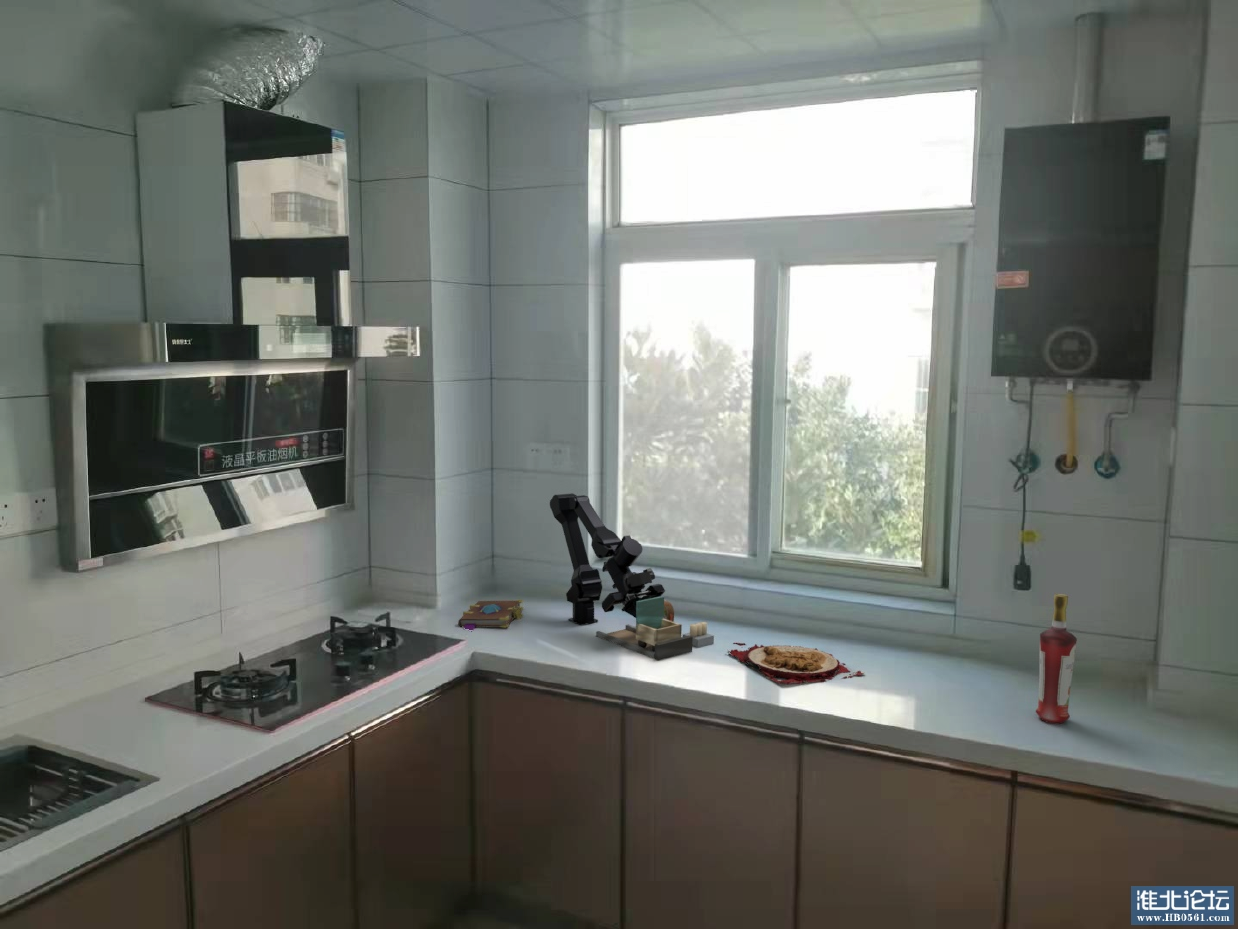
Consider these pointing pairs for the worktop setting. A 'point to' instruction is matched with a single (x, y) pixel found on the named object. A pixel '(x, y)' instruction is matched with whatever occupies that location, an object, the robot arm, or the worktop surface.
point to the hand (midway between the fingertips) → (647, 624)
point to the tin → (668, 611)
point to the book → (491, 614)
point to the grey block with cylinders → (700, 635)
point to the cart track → (661, 649)
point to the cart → (654, 623)
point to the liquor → (1056, 666)
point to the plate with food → (792, 663)
